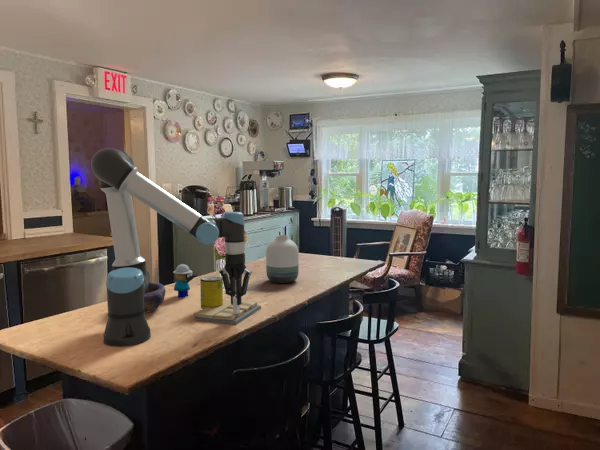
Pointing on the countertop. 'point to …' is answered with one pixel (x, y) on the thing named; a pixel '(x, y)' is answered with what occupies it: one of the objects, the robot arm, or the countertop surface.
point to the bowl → (153, 296)
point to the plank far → (246, 305)
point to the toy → (183, 280)
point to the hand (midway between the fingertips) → (236, 312)
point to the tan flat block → (227, 314)
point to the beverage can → (211, 291)
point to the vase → (282, 260)
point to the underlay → (208, 313)
